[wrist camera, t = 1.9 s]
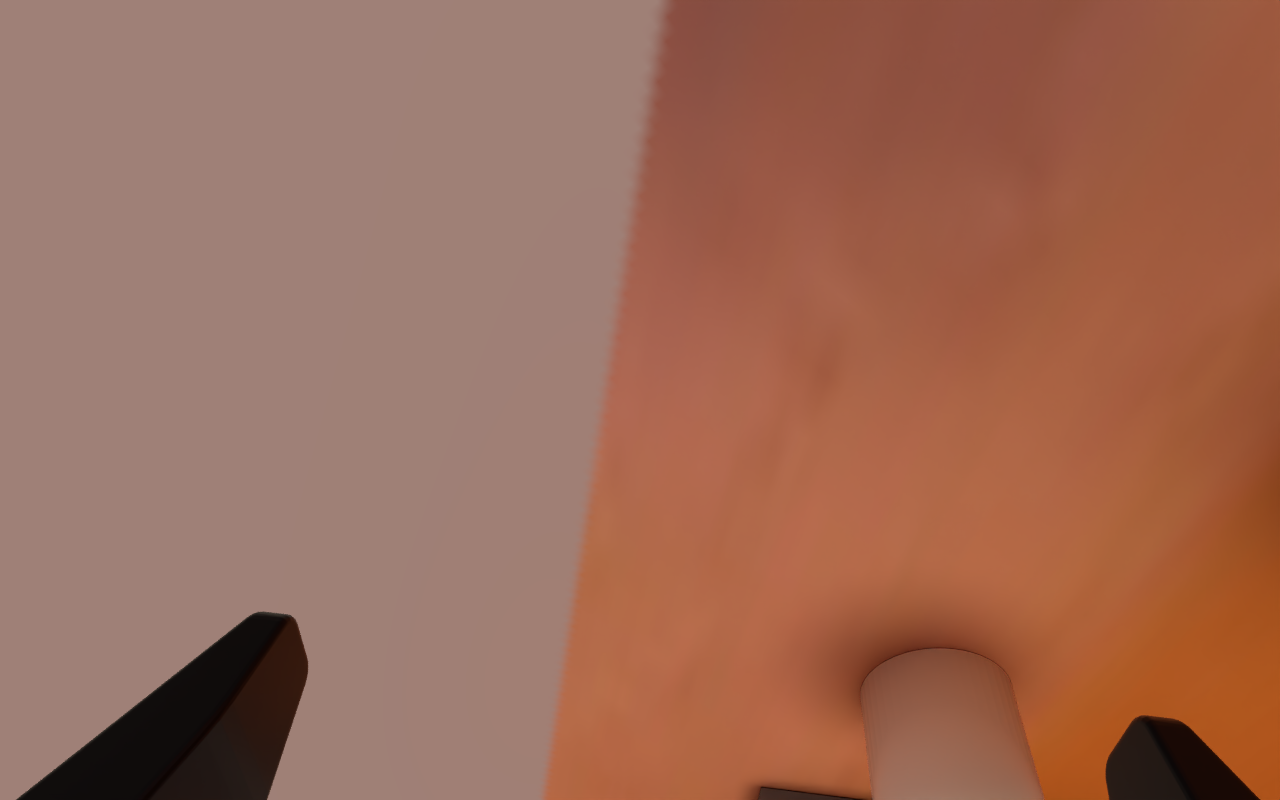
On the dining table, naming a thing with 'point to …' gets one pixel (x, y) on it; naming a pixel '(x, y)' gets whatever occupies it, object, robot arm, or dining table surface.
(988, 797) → the shaker
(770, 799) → the tray
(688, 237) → the dining table surface
